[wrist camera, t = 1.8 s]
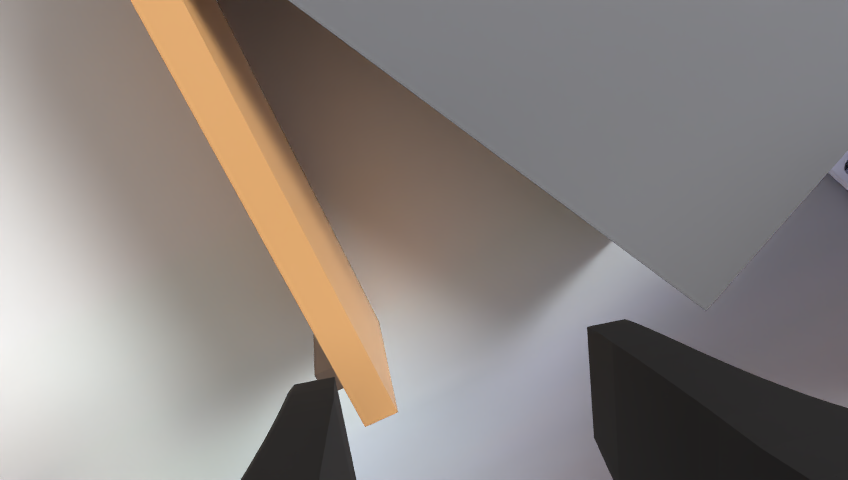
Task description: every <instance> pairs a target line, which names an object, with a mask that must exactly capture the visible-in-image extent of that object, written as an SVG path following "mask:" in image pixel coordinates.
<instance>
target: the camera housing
mask: <svg viewBox="0 0 848 480" xmlns="http://www.w3.org/2000/svg"><path fill="white" fill-rule="evenodd" d="M289 1H290V2H291V3H293V4H294V5H295V6H297V7H298V8H299V9H301V10H302V11H303V12H305V13H306V14H307V15H309V16H310V17H311V18H313V19H314V20H315V21H317V22H318V23H319V24H321V25H322V26H323V27H325V28H326V29H328V30H329V31H330V32H332V33H333V34H334V35H336V36H337V37H338V38H340V39H341V40H342V41H344V42H345V43H346V44H348V45H349V46H350V47H352V48H353V49H354V50H356V51H357V52H358V53H360V54H361V55H362V56H364V57H365V58H367V59H368V60H369V61H371V62H372V63H373V64H375V65H376V66H377V67H379V68H380V69H381V70H383V71H384V72H385V73H387V74H388V75H389V76H391V77H392V78H393V79H395V80H396V81H397V82H399V83H400V84H402V85H403V86H404V87H406V88H407V89H408V90H410V91H411V92H412V93H414V94H415V95H416V96H418V97H419V98H420V99H422V100H423V101H424V102H426V103H427V104H428V105H430V106H431V107H432V108H434V109H435V110H436V111H438V112H439V113H441V114H442V115H443V116H445V117H446V118H447V119H449V120H450V121H451V122H453V123H454V124H455V125H457V126H458V127H459V128H461V129H462V130H463V131H465V132H466V133H467V134H469V135H470V136H471V137H473V138H474V139H475V140H477V141H478V142H480V143H481V144H482V145H484V146H485V147H486V148H488V149H489V150H490V151H492V152H493V153H494V154H496V155H497V156H498V157H500V158H501V159H502V160H504V161H505V162H506V163H508V164H509V165H510V166H512V167H513V168H514V169H516V170H517V171H519V172H520V173H521V174H523V175H524V176H525V177H527V178H528V179H529V180H531V181H532V182H533V183H535V184H536V185H537V186H539V187H540V188H541V189H543V190H544V191H545V192H547V193H548V194H549V195H551V196H552V197H553V198H555V199H556V200H558V201H559V202H560V203H562V204H563V205H564V206H566V207H567V208H568V209H570V210H571V211H572V212H574V213H575V214H576V215H578V216H579V217H580V218H582V219H583V220H584V221H586V222H587V223H588V224H590V225H591V226H592V227H594V228H595V229H597V230H598V231H599V232H601V233H602V234H603V235H605V236H606V237H607V238H609V239H610V240H611V241H613V242H614V243H615V244H617V245H618V246H619V247H621V248H622V249H623V250H625V251H626V252H627V253H629V254H630V255H631V256H633V257H634V258H636V259H637V260H638V261H640V262H641V263H642V264H644V265H645V266H646V267H648V268H649V269H650V270H652V271H653V272H654V273H656V274H657V275H658V276H660V277H661V278H662V279H664V280H665V281H666V282H668V283H669V284H670V285H672V286H673V287H675V288H676V289H677V290H679V291H680V292H681V293H683V294H684V295H685V296H687V297H688V298H689V299H691V300H692V301H693V302H695V303H696V304H697V305H699V306H700V307H701V308H703V309H704V310H705V311H707V310H708V309H709V307H710V306H711V305H712V304H713V303H714V302H715V301H716V300H717V298H718V297H719V296H720V295H721V294H722V293H723V292H724V290H725V289H726V288H727V287H728V286H729V285H730V284H731V283H732V281H733V280H734V279H735V278H736V277H737V276H738V275H739V273H740V272H741V271H742V270H743V269H744V268H745V267H746V265H747V264H748V263H749V262H750V261H751V260H752V259H753V258H754V256H755V255H756V254H757V253H758V252H759V251H760V250H761V248H762V247H763V246H764V245H765V244H766V243H767V242H768V240H769V239H770V238H771V237H772V236H773V235H774V234H775V233H776V231H777V230H778V229H779V228H780V227H781V226H782V225H783V223H784V222H785V221H786V220H787V219H788V218H789V217H790V216H791V214H792V213H793V212H794V211H795V210H796V209H797V208H798V206H799V205H800V204H801V203H802V202H803V201H804V200H805V198H806V197H807V196H808V195H809V194H810V193H811V192H812V191H813V189H814V188H815V187H816V186H817V185H818V184H819V183H820V181H821V180H822V179H823V178H824V177H825V176H826V175H827V173H828V172H829V171H830V170H831V169H832V168H833V167H834V166H835V164H836V163H837V162H838V161H839V160H840V159H841V158H842V156H843V155H844V154H845V153H846V152H847V151H848V0H289Z"/></svg>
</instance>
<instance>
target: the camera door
mask: <svg viewBox="0 0 848 480" xmlns="http://www.w3.org/2000/svg"><path fill="white" fill-rule="evenodd" d="M131 2H132V4H133V6H134V8H135V10H136V11H137V13H138V15H139V17H140V19H141V20H142V22H143V24H144V26H145V28H146V29H147V31H148V33H149V35H150V37H151V39H152V40H153V42H154V44H155V46H156V48H157V49H158V51H159V53H160V55H161V57H162V59H163V60H164V62H165V64H166V66H167V68H168V69H169V71H170V73H171V75H172V77H173V79H174V80H175V82H176V84H177V86H178V88H179V89H180V91H181V93H182V95H183V97H184V99H185V100H186V102H187V104H188V106H189V108H190V109H191V111H192V113H193V115H194V117H195V119H196V120H197V122H198V124H199V126H200V128H201V129H202V131H203V133H204V135H205V137H206V139H207V140H208V142H209V144H210V146H211V148H212V149H213V151H214V153H215V155H216V157H217V159H218V160H219V162H220V164H221V166H222V168H223V169H224V171H225V173H226V175H227V177H228V179H229V180H230V182H231V184H232V186H233V188H234V189H235V191H236V193H237V195H238V197H239V199H240V200H241V202H242V204H243V206H244V208H245V209H246V211H247V213H248V215H249V217H250V219H251V220H252V222H253V224H254V226H255V228H256V229H257V231H258V233H259V235H260V237H261V238H262V240H263V242H264V244H265V246H266V248H267V249H268V251H269V253H270V255H271V257H272V258H273V260H274V262H275V264H276V266H277V268H278V269H279V271H280V273H281V275H282V277H283V278H284V280H285V282H286V284H287V286H288V288H289V289H290V291H291V293H292V295H293V297H294V298H295V300H296V302H297V304H298V306H299V308H300V309H301V311H302V313H303V315H304V317H305V318H306V320H307V322H308V324H309V326H310V328H311V329H312V331H313V333H314V370H315V377H316V379H317V380H321V379H326V378H331V377H335V380H336V385H337V390H340V389H342V388H344V389H345V391H346V393H347V395H348V397H349V398H350V400H351V402H352V404H353V406H354V408H355V409H356V411H357V413H358V415H359V417H360V418H361V420H362V422H363V424H364V426H365V427H366V426H368V425H371V424H373V423H375V422H377V421H379V420H382V419H384V418H386V417H388V416H391V415H393V414H395V413H397V412H398V410H397V405H396V401H395V396H394V391H393V386H392V382H391V377H390V372H389V367H388V363H387V358H386V353H385V348H384V343H383V339H382V334H381V329H380V324H379V321H378V319H377V317H376V315H375V313H374V311H373V309H372V307H371V305H370V303H369V301H368V299H367V297H366V295H365V294H364V292H363V290H362V288H361V286H360V284H359V282H358V280H357V278H356V276H355V274H354V272H353V270H352V268H351V266H350V264H349V262H348V260H347V258H346V256H345V254H344V252H343V250H342V248H341V246H340V244H339V242H338V240H337V238H336V236H335V234H334V232H333V230H332V228H331V226H330V224H329V222H328V220H327V218H326V216H325V214H324V212H323V210H322V208H321V206H320V205H319V203H318V201H317V199H316V197H315V195H314V193H313V191H312V189H311V187H310V185H309V183H308V181H307V179H306V177H305V175H304V173H303V171H302V169H301V167H300V165H299V163H298V161H297V159H296V157H295V155H294V153H293V151H292V149H291V147H290V145H289V143H288V141H287V139H286V137H285V135H284V133H283V131H282V129H281V127H280V125H279V123H278V121H277V119H276V117H275V115H274V114H273V112H272V110H271V108H270V106H269V104H268V102H267V100H266V98H265V96H264V94H263V92H262V90H261V88H260V86H259V84H258V82H257V80H256V78H255V76H254V74H253V72H252V70H251V68H250V66H249V64H248V62H247V60H246V58H245V56H244V54H243V52H242V50H241V48H240V46H239V44H238V42H237V40H236V38H235V36H234V34H233V32H232V30H231V28H230V26H229V25H228V23H227V21H226V19H225V17H224V15H223V13H222V11H221V9H220V7H219V5H218V3H217V1H216V0H131Z"/></svg>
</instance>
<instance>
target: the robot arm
mask: <svg viewBox="0 0 848 480" xmlns="http://www.w3.org/2000/svg"><path fill="white" fill-rule="evenodd" d="M847 160H848V151H847V152H846V153H845V154H844V155H843V156H842V158H841V159H840V160H839V161H838V162H837V163H836V164H835V166H834V167H833V168H832V169H831V170H830V171H829V172H828V173H829V174H830V175H831V176H832V177H833V178H834V179H836V180H837V181H838V182H839V183H840V184H841V185H842V186H843V187H844V188H846V189H847V190H848V169H847V170H844V167H845V163H846V162H847ZM587 332H588V348H589V364H590V380H591V396H592V412H593V428H594V438H595V440H596V443H597V445H598V447H599V449H600V452H601V454H602V456H603V458H604V461H605V463H606V465H607V467H608V469H609V471H610V473H611V476H612V478H613V480H848V408H845V407H842V406H839V405H835V404H832V403H829V402H826V401H823V400H820V399H817V398H814V397H811V396H808V395H805V394H803V393H800V392H797V391H795V390H792V389H789V388H787V387H784V386H781V385H779V384H776V383H773V382H771V381H768V380H765V379H763V378H760V377H758V376H755V375H753V374H751V373H748V372H746V371H743V370H741V369H738V368H736V367H734V366H731V365H729V364H727V363H724V362H722V361H720V360H718V359H715V358H713V357H711V356H709V355H706V354H704V353H702V352H700V351H697V350H695V349H693V348H691V347H689V346H686V345H684V344H682V343H680V342H678V341H676V340H673V339H671V338H669V337H667V336H665V335H662V334H660V333H658V332H656V331H653V330H651V329H649V328H647V327H644V326H642V325H639V324H637V323H634V322H631V321H629V320H626V319H624V320H619V321H614V322H609V323H604V324H599V325H594V326H589V327H587ZM241 480H356V476H355V471H354V467H353V462H352V457H351V452H350V447H349V443H348V438H347V433H346V428H345V423H344V419H343V414H342V409H341V404H340V399H339V394H338V390H337V385H336V380H335V377H331V378H326V379H321V380H316V381H311V382H306V383H301V384H296V385H294V386H293V387H292V389H291V390H290V391H289V393H288V394H287V397H286V399H285V401H284V403H283V405H282V407H281V409H280V411H279V413H278V415H277V417H276V419H275V421H274V423H273V425H272V427H271V429H270V430H269V432H268V434H267V436H266V438H265V440H264V441H263V443H262V445H261V447H260V448H259V450H258V452H257V453H256V455H255V457H254V459H253V460H252V462H251V464H250V465H249V467H248V469H247V471H246V472H245V474H244V475H243V477H242V478H241Z"/></svg>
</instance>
